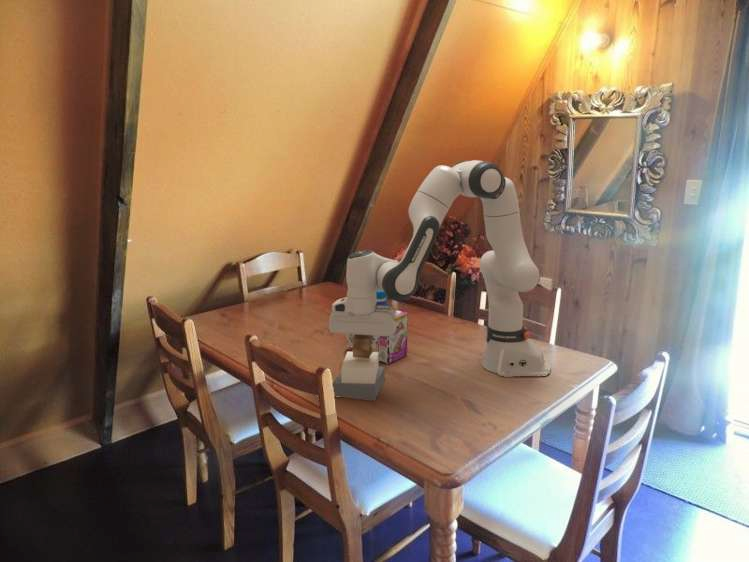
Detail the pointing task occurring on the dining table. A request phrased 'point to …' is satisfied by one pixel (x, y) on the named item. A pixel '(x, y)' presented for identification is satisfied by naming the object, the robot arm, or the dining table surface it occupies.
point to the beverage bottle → (380, 301)
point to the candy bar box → (394, 341)
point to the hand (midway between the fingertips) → (362, 347)
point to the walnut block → (362, 346)
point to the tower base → (359, 387)
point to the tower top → (360, 369)
